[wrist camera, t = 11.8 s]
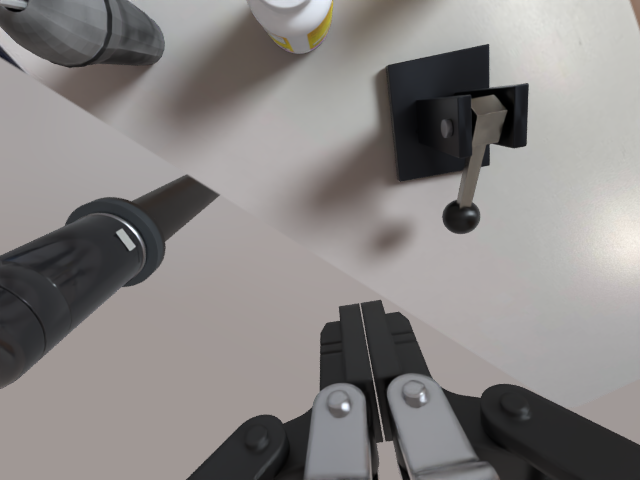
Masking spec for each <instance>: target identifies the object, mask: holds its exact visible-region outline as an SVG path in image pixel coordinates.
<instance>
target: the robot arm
mask: <svg viewBox="0 0 640 480" xmlns="http://www.w3.org/2000/svg"><path fill="white" fill-rule="evenodd" d="M147 258H148V248H147V244H146V241H145V239H144V237H143V235H142V233H141V232H140V231H139V229H138V228H137V227H136V226H135V225H134V224H133V223H131V222H130V221H129V220H127V219H126V218H124V217H122V216H120V215H117V214H114V213H110V212H95V213H91V214H88V215H86V216H84V217H82V218H80V219H79V220H77V221H75V222H73V223H71V224H69V225H66V226H64V227H62V228H60V229H58V230H55V231H53V232H51V233H49V234H46V235H44V236H42V237H40V238H38V239H36V240H33V241H31V242H29V243H27V244H25V245H23V246H20V247H18V248H16V249H14V250H12V251H9V252H7V253H5V254H3V255H1V256H0V389H1V388H4V387H6V386H7V385H9V384H11V383H13V382H14V381H16V380H17V379H18V378H20V377H21V376H22V375H23V374H24V373H25V372H27V371H28V370H29V369H30V368H31V367H32V366H33V365H34V364H36V363H37V362H38V361H39V360H40V359H41V358H42V357H43V356H44V355H45V354H47V353H48V352H49V351H50V350H51V349H52V348H53V347H54V346H56V345H57V344H58V343H59V342H60V341H61V340H62V339H63V338H64V337H66V336H67V335H68V334H69V333H70V332H71V331H72V330H73V329H74V328H76V327H77V326H78V325H79V324H80V323H81V322H82V321H83V320H85V319H86V318H87V317H88V316H89V315H90V314H92V313H93V312H94V311H95V310H96V309H97V308H98V307H99V306H100V305H102V304H103V303H104V302H105V301H106V300H107V299H108V298H109V297H111V296H112V295H113V294H114V293H115V292H116V291H117V290H119V289H120V288H121V287H122V286H123V285H124V284H126V283H127V282H128V281H129V280H130V279H131V278H133V277H134V276H136V275H137V274H138V273H139V272H140V271H141V270H142V269H143V268H144V266H145V264H146V262H147ZM361 307H362V313H363V319H364V325H365V331H366V337H367V343H368V349H369V354H370V360H371V365H372V371H373V376H374V381H375V386H376V392H377V397H378V402H379V408H380V414H381V419H382V424H383V430H384V435H385V440H386V441H393V443H394V447H395V452H396V458H397V464H398V470H399V474H400V478H401V480H640V445H639V444H637V443H635V442H632V441H631V440H628V439H627V438H625V437H623V436H620V435H619V434H617V433H614V432H612V431H610V430H608V429H606V428H604V427H602V426H600V425H598V424H596V423H594V422H592V421H590V420H588V419H586V418H584V417H582V416H580V415H578V414H576V413H574V412H572V411H570V410H568V409H566V408H564V407H562V406H560V405H558V404H556V403H554V402H552V401H550V400H548V399H546V398H544V397H542V396H540V395H537V394H535V393H533V392H531V391H529V390H527V389H525V388H523V387H520V386H516V385H511V384H498V385H494V386H491V387H489V388H488V389H486V390H485V391H484V392H483V394H482V396H481V398H478V397H470V396H463V395H458V394H455V393H452V392H449V391H447V390H445V389H443V388H442V387H441V386H440V385H439V384H438V383H437V382H436V381H435V380H433V378H432V377H431V375H430V372H429V370H428V367H427V365H426V362H425V360H424V357H423V355H422V352H421V350H420V347H419V345H418V342H417V341H416V337H415V335H414V332H413V330H412V327H411V325H410V322H409V320H408V319H407V318H406V317H405V316H403V315H402V314H401V313H400V312H395V313H388V314H385V311H384V308H383V305H382V301H381V300H377V301H370V302H364V303H361ZM339 313H340V321H336V322H329V323H326V325H325V326H324V328H323V330H322V332H321V338H320V344H321V346H320V354H321V355H320V392H319V393H318V395H317V396H316V398H315V400H314V402H313V407H312V408H311V409H310V410H309V411H308V412H306V413H305V414H303V415H301V416H300V417H297V418H295V419H293V420H291V421H288V422H286V423H284V424H283V423H282V422H281V420H279V419H278V418H277V417H275V416H272V415H259V416H256V417H253V418H251V419H249V420H247V421H246V422H245V423H243V424H242V425H241V426H240V427H239V428H238V429H237V430H236V431H235V432H234V433H233V434H232V435H231V436H230V437H229V438H228V439H227V440H226V441H225V442H224V443H223V444H222V445H221V446H220V447H219V448H218V449H217V450H216V451H215V452H214V453H213V454H212V455H211V456H210V457H209V458H208V459H207V460H206V461H205V462H204V463H203V464H202V465H201V466H199V467H198V469H197V470H196V471H195V472H193V474H191V476H190V477H189V478H187V479H186V480H379V470H378V467H379V457H378V451H377V444H376V443H379V442H383V437H382V431H381V425H380V419H379V414H378V407H377V402H376V396H375V390H374V385H373V378H372V372H371V367H370V361H369V356H368V350H367V345H366V340H365V334H364V328H363V323H362V317H361V312H360V307H359V303H358V304H352V305H345V306H340V307H339Z"/></svg>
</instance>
